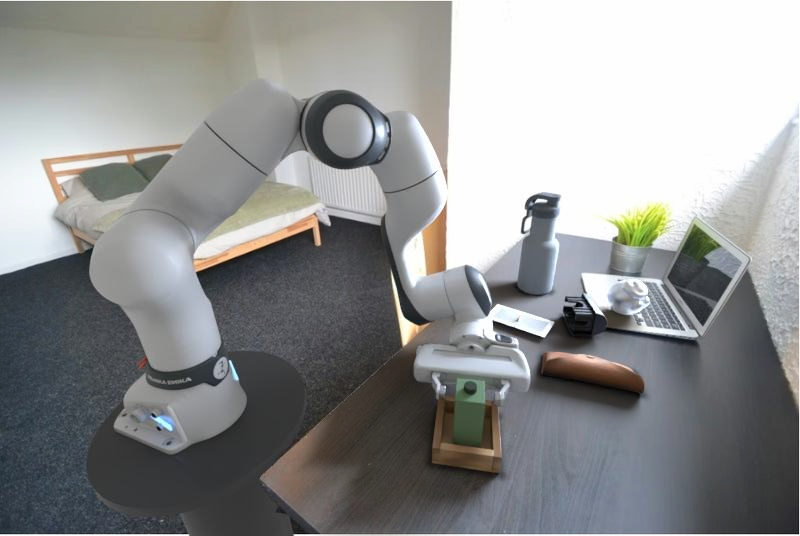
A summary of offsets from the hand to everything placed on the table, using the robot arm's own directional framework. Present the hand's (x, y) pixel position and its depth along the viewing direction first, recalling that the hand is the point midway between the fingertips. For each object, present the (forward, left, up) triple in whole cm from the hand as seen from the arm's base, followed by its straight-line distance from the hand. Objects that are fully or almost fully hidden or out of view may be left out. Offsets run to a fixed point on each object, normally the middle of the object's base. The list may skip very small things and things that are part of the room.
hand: (469, 400), depth 61 cm
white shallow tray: (+12, +36, -8) cm, 39 cm away
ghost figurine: (+39, +45, -8) cm, 60 cm away
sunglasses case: (+24, +19, -8) cm, 32 cm away
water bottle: (+18, +56, -8) cm, 59 cm away
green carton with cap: (0, -1, -7) cm, 7 cm away
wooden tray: (0, -1, -7) cm, 8 cm away
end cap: (+27, +37, -8) cm, 46 cm away
